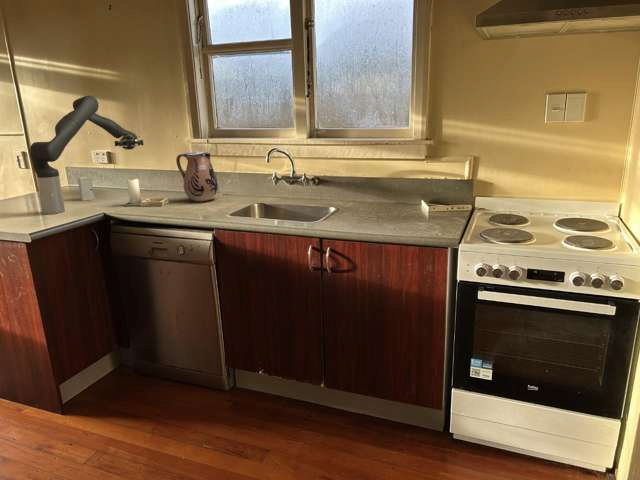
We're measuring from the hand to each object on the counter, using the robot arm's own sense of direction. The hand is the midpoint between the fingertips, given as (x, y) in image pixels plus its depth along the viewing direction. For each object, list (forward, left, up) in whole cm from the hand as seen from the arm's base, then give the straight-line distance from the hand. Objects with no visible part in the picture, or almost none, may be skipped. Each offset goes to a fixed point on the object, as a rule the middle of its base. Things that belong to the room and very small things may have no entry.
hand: (129, 143), depth 247 cm
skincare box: (+5, +29, -30) cm, 42 cm away
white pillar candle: (-11, -4, -29) cm, 32 cm away
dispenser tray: (-11, -14, -30) cm, 35 cm away
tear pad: (-11, -4, -30) cm, 32 cm away
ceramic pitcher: (-1, -34, -30) cm, 46 cm away
